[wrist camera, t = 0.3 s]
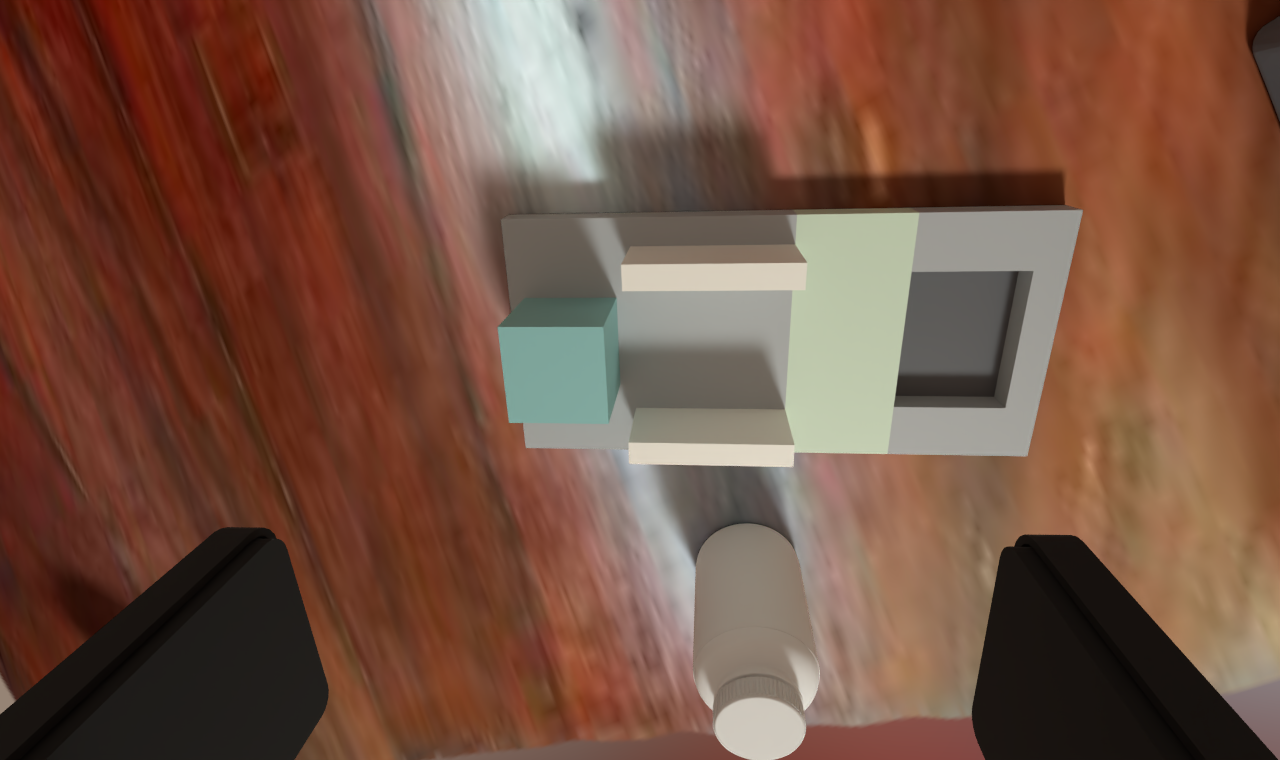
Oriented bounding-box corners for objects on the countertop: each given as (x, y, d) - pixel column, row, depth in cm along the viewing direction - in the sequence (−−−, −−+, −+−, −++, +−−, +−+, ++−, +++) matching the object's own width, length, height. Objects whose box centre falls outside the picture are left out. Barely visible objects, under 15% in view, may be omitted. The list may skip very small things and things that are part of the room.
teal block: (524, 298, 42) (497, 327, 37) (616, 297, 42) (603, 326, 36) (533, 383, 45) (509, 422, 39) (620, 384, 44) (608, 424, 39)
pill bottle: (675, 546, 51) (666, 708, 37) (767, 503, 49) (793, 660, 35) (726, 616, 53) (734, 793, 40) (816, 578, 51) (857, 753, 37)
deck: (509, 214, 42) (474, 234, 36) (1065, 204, 39) (1136, 224, 33) (532, 434, 48) (506, 485, 42) (1013, 441, 45) (1065, 497, 39)
